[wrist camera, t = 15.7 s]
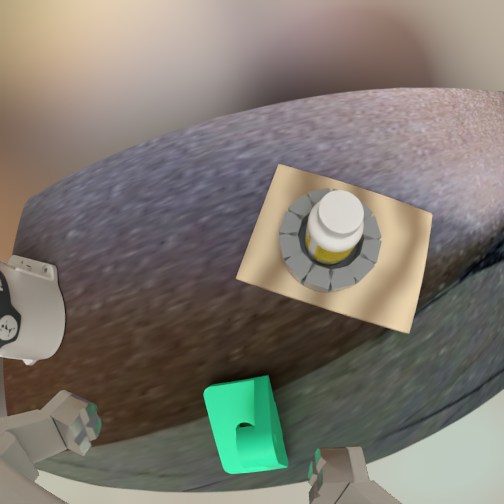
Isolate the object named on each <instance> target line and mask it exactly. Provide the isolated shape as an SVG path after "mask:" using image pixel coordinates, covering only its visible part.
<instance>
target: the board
mask: <svg viewBox="0 0 504 504" xmlns="http://www.w3.org/2000/svg"><path fill="white" fill-rule="evenodd" d="M327 188H329V189H330V192H332V190H333V189H337V190H343V191H347V192H350V193H352V194H353V195H355V196H356V197H358V198H359V199H360V200H361V201H362V202H363V203H364V204H365V205H366V206H367V207H368V208H369V209H370V210H371V211H372V212H373V213H372V215H371V216H370V217H372V216H375V217H376V220H377V224H378V227H379V230H380V233H381V238H380V239H379V240H381V241H382V242H381V247H380V251H379V256H378V260H377V263H376V264H374V265H375V267H374V268H373V269H372V270H371V271H370V272H369V273H368V274H367V275H366V276H365V277H364V278H363V279H362V280H361V281H360V282H358V283H357V284H355V285H354V286H352V287H350V288H348V289H344V290H341V291H338V292H332V293H324V292H318V291H314V290H311V289H309V288H306V287H305V286H303V285H301V284H300V283H299V282H297V281H296V280H295V279H294V278H293V277H292V275H291V274H290V273H289V271H288V270H287V268H286V267H285V264H284V262H283V258H282V253H281V248H280V244H279V236H278V235H279V229H280V226H281V223H282V220H283V217H284V214H285V212H286V211H288V207H289V206H290V205H291V204H293V203H294V202H295V201H296V200H297V199H299V198H300V197H301V196H302V195H303V194H305V195H306V196H307V195H308V192H311V191H316V190H322V189H327ZM431 222H432V214H431V213H429V212H426V211H424V210H421V209H419V208H416V207H413V206H411V205H408V204H405V203H403V202H400V201H397V200H395V199H392V198H389V197H386V196H383V195H380V194H378V193H375V192H372V191H369V190H366V189H363V188H360V187H357V186H354V185H350V184H347V183H344V182H341V181H338V180H334V179H331V178H328V177H324V176H321V175H317V174H314V173H310V172H307V171H303V170H299V169H295V168H292V167H288V166H284V165H280V164H278V167H277V169H276V172H275V175H274V177H273V180H272V183H271V185H270V188H269V191H268V193H267V196H266V199H265V201H264V204H263V207H262V209H261V212H260V215H259V217H258V220H257V223H256V225H255V228H254V231H253V233H252V236H251V239H250V241H249V244H248V247H247V250H246V252H245V255H244V258H243V260H242V263H241V266H240V268H239V271H238V274H237V277H236V279H237V280H239V281H242V282H245V283H248V284H251V285H254V286H257V287H260V288H263V289H266V290H269V291H272V292H275V293H278V294H281V295H284V296H287V297H290V298H293V299H296V300H299V301H302V302H305V303H308V304H311V305H314V306H317V307H321V308H324V309H327V310H330V311H333V312H336V313H339V314H343V315H346V316H349V317H352V318H356V319H359V320H362V321H365V322H369V323H372V324H375V325H379V326H382V327H385V328H389V329H392V330H396V331H399V332H402V333H409V332H410V329H411V325H412V321H413V318H414V314H415V310H416V306H417V302H418V297H419V293H420V288H421V284H422V279H423V274H424V268H425V263H426V257H427V251H428V244H429V237H430V230H431Z"/></svg>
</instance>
